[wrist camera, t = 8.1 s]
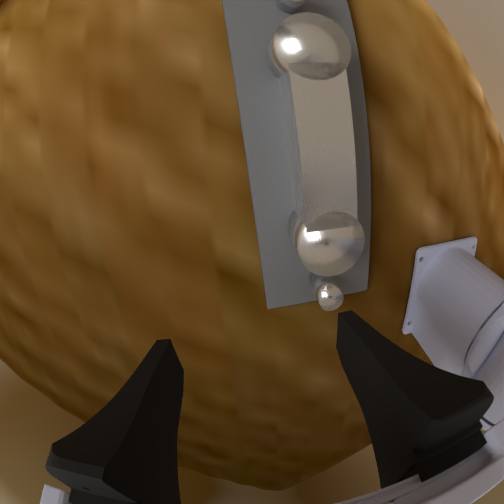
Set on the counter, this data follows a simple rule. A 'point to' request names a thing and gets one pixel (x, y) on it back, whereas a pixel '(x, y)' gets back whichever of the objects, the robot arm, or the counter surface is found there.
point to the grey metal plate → (276, 153)
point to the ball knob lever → (318, 140)
